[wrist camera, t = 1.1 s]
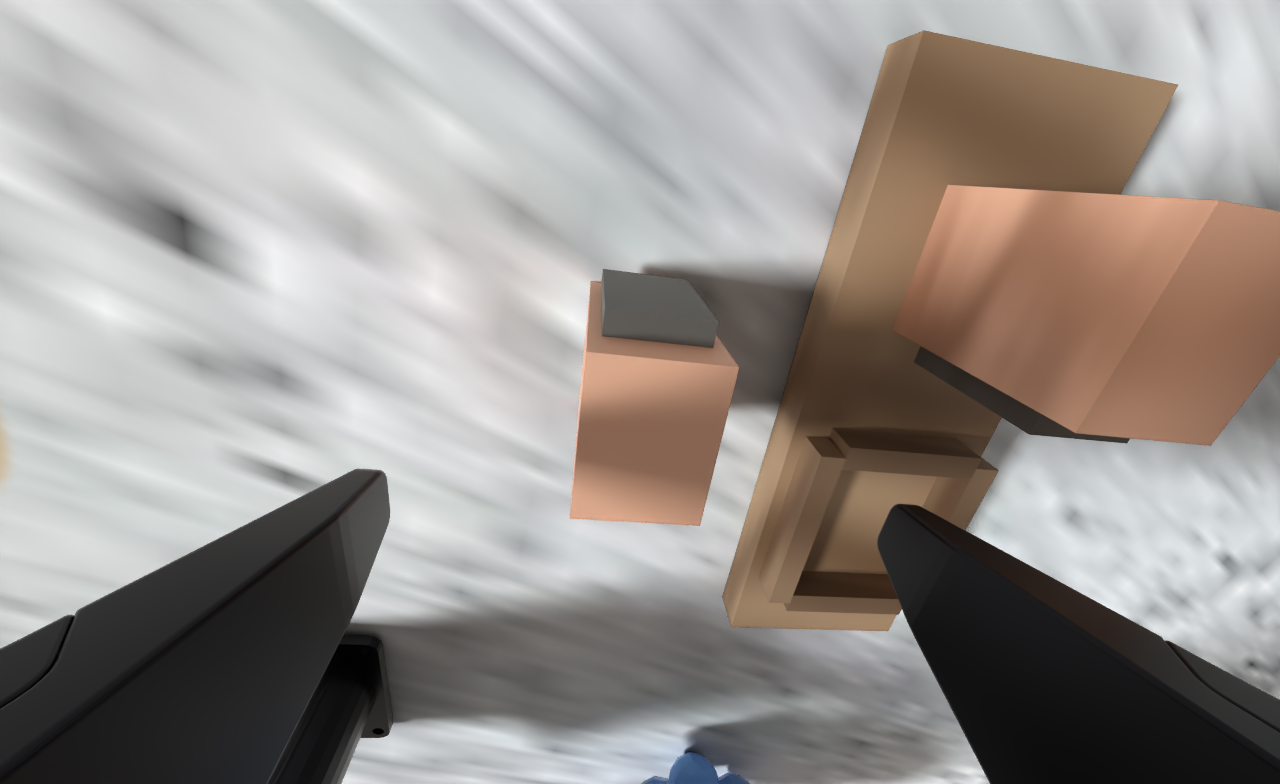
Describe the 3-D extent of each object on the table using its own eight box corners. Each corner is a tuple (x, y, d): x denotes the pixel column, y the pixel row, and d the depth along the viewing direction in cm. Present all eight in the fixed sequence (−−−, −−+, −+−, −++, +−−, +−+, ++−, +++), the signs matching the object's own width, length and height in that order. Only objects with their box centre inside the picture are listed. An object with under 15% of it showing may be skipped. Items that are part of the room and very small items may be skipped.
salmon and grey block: (666, 406, 16) (699, 525, 11) (579, 398, 16) (569, 518, 11) (690, 273, 14) (746, 339, 9) (592, 261, 14) (589, 321, 9)
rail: (869, 601, 22) (993, 801, 15) (722, 596, 21) (782, 806, 14) (1118, 92, 13) (1670, 17, 6) (887, 45, 12) (1248, -105, 5)
